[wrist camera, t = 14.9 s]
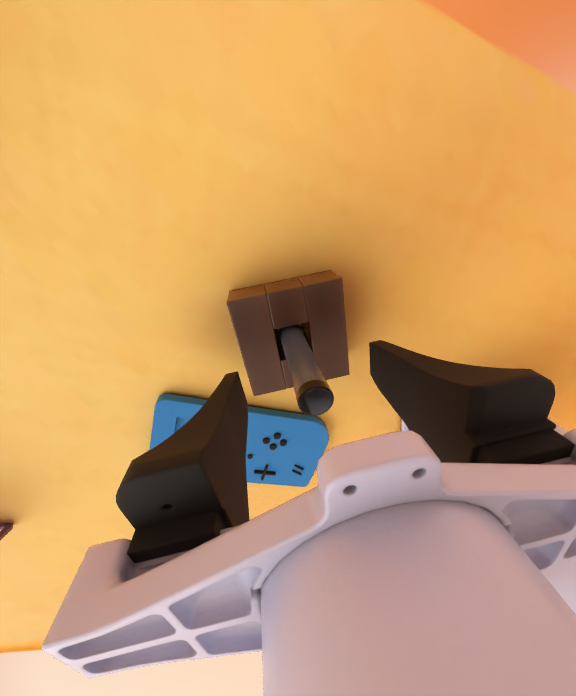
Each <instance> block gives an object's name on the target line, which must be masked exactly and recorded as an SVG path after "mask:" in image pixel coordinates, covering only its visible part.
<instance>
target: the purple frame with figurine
mask: <svg viewBox="0 0 576 696" xmlns="http://www.w3.org/2000/svg"><path fill="white" fill-rule="evenodd" d="M12 528H13V524H12V523H5V524H0V529H2V530H1V531H0V540H1V539H2V538H3V537H4V536H5V535H6V534H7V533H8V532H10V531H11V530H12Z"/></svg>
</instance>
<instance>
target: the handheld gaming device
mask: <svg viewBox="0 0 576 696" xmlns="http://www.w3.org/2000/svg"><path fill="white" fill-rule="evenodd" d="M206 401H207V400H206V399H199V398H193V397H186V396H180V395H173V394H163V395H161V396H160V397H159V398H158V400H157V402H156V405H155V411H154V419H153V427H152V435H151V443H150V450H151V449H152V448H154V447H156V446H157V445H159V444H160V443H161V442H163V441H164V440H166V439H167V438H168V437H170V436H171V435H172V434H174V433H175V432H176V431H177V430H178V429H180V428H181V427H182V426H183V425H184V424H186V423H187V422H188V421H189V420H190V419H191V418H192V417H193V416H194V415H195V414H196V413H197V412H198V411H199V410H200V409H201V407H202V406H203V405H204V404H205V403H206ZM247 408H248V431H247V446H246V477H247V482H250V483H262V484H275V485H287V486H300V487H304V486H306V485H308V483H309V482H310V479H311V477H312V475H313V473H314V471H315V469H316V467H317V465H318V460H319V459H320V458H321V457H322V454H323V452H324V450H325V448H326V446H327V444H328V440H329V435H328V431H327V429H326V426H325V424H324V423H323V422H322V421H321V420H320V419H318V418H316V417H314V416H310V415H303V414H297V413H290V412H284V411H277V410H271V409H264V408H258V407H251V406H247Z"/></svg>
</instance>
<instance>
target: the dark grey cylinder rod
mask: <svg viewBox="0 0 576 696" xmlns="http://www.w3.org/2000/svg"><path fill="white" fill-rule="evenodd" d="M278 333H279V336H280V339H281V343H282V346H283V350H284V354H285V357H286V361H287V365H288V368H289V372H290V376H291V379H292V383H293V386H294V390H295V394H296V399H297V403H298V406H299V409H300V410H301V411H302V412H303V413H305V414H307V415H311V416H316V415H321V414H323V413H325V412H326V411H328V410H329V409H330V407H331V406H332V404H333V401H334V396H333V393H332V391H331V389H330V387H329V385H328V384H327V381H326V379H325V377H324V375H323V373H322V371H321V369H320V367H319V365H318V363H317V361H316V359H315V356H314V354H313V352H312V350H311V348H310V346H309V344H308V342H307V340H306V338H305V336H304V334H303V331H302V329H301V327H300V325H299V324H298V325H293V326H289V327H284V328H279V329H278Z"/></svg>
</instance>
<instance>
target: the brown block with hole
mask: <svg viewBox="0 0 576 696" xmlns="http://www.w3.org/2000/svg"><path fill="white" fill-rule="evenodd" d="M227 306H228V309H229V312H230V316H231V319H232V323H233V326H234V330H235V333H236V336H237V340H238V343H239V347H240V350H241V354H242V357H243V361H244V364H245V367H246V371H247V374H248V378H249V381H250V385H251V388H252V391H253V395H254V396H257V395H261V394H266V393H270V392H274V391H279V390H283V389H286V388H291V387H294V386H293V383H292V379H291V376H290V372H289V368H288V365H287V361H286V357H285V354H284V350H283V346H282V344H278V345H277V342H276V338H275V333H274V329H279V328H284V327H289V326H293V325H298V324H302V323H304V328H305V334H306V340H307V342H308V344H309V346H310V348H311V350H312V352H313V354H314V356H315V359H316V361H317V363H318V365H319V367H320V369H321V371H322V373H323V375H324V377H325V379H326V380H328V379H332V378H337V377H341V376H345V375H349V362H348V349H347V336H346V323H345V310H344V297H343V284H342V278H341V277H340V276H338V275H336V274H335V273H333V272H332V271H330V270H329V271H324V272H319V273H314V274H310V275H305V276H300V277H297V278H291V279H286V280H281V281H276V282H272V283H267V284H264V285H263V284H262V285H257V286H252V287H247V288H242V289H238V290H233V291H229V295H228V299H227Z"/></svg>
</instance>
